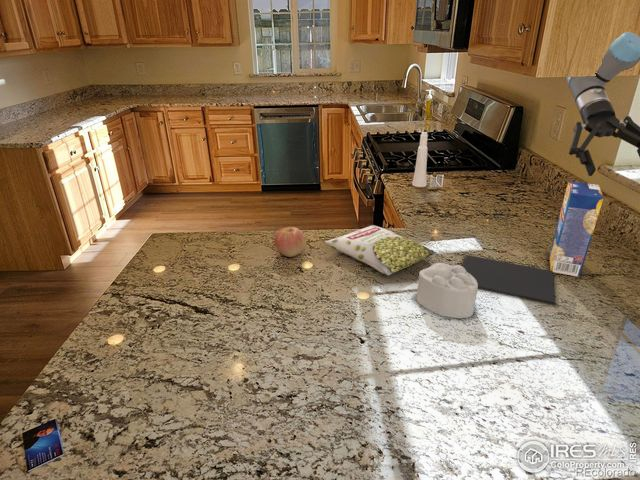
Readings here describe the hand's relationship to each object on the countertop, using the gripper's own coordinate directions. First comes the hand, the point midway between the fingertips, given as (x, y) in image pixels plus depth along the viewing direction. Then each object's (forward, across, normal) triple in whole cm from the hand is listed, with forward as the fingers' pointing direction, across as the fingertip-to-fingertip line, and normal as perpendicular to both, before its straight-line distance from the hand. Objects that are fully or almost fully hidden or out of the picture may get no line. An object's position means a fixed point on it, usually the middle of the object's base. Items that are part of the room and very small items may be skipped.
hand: (620, 170), depth 109 cm
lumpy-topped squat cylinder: (+33, -48, 0) cm, 59 cm away
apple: (+12, -89, +8) cm, 90 cm away
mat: (+24, -31, +9) cm, 40 cm away
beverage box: (+19, -14, +16) cm, 28 cm away
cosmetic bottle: (-37, -45, +52) cm, 78 cm away
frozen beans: (+14, -64, +11) cm, 66 cm away
